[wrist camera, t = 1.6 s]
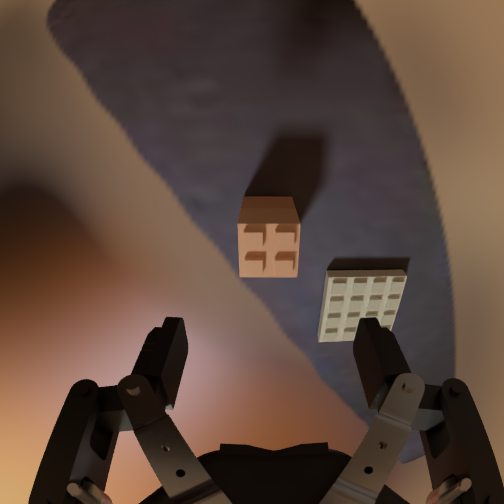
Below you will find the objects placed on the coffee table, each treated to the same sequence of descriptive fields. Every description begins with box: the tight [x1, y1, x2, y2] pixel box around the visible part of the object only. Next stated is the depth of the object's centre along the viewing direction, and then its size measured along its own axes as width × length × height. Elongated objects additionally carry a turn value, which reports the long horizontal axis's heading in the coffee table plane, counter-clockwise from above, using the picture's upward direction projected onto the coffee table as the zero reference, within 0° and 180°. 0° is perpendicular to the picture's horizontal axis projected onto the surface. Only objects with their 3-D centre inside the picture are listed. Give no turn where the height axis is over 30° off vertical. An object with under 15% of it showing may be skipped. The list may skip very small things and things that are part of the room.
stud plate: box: [317, 270, 407, 342], centre depth 29 cm, size 8×8×2 cm
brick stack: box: [238, 196, 300, 277], centre depth 23 cm, size 4×4×6 cm
